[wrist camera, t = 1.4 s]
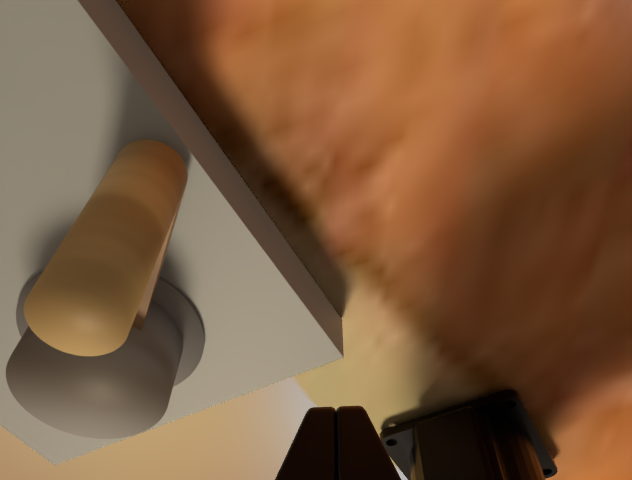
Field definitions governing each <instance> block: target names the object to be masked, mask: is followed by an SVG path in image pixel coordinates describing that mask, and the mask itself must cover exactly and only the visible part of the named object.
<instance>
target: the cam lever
mask: <svg viewBox="0 0 632 480" xmlns="http://www.w3.org/2000/svg"><path fill="white" fill-rule="evenodd" d="M187 180H188V173H187V168H186V165H185V163H184V161H183V159H182V158H181V157H180V155H179V154H178V153H177V152H176V151H175V150H174V149H172V148H171V147H169V146H168V145H166V144H164V143H162V142H159V141H155V140H149V139H142V140H136V141H133V142H131V143H129V144H127V145H126V146H124V147H123V148H122V149H121V151H120V152H119V153H118V155H117V157H116V158H115V160H114V161H113V163H112V164H111V166H110V167H109V169H108V171H107V172H106V174H105V175H104V177H103V178H102V180H101V182H100V183H99V185H98V186H97V188H96V189H95V191H94V193H93V194H92V196H91V197H90V199H89V200H88V202H87V204H86V205H85V207H84V208H83V210H82V211H81V213H80V215H79V216H78V218H77V219H76V221H75V222H74V224H73V226H72V227H71V229H70V230H69V232H68V233H67V235H66V237H65V238H64V240H63V241H62V243H61V244H60V246H59V247H58V249H57V251H56V252H55V254H54V255H53V257H52V258H51V260H50V262H49V263H48V265H47V266H46V268H45V269H44V271H43V273H42V274H41V276H40V277H39V279H38V280H37V282H36V284H35V285H34V287H33V288H32V290H31V291H30V293H29V295H28V296H27V298H26V300H25V303H24V316H25V319H26V321H27V323H28V325H29V326H28V327H27V329H26V331H25V332H24V334H23V336H22V337H21V339H20V341H19V342H18V344H17V346H16V348H15V349H14V351H13V353H12V354H11V356H10V358H9V360H8V362H7V366H6V380H7V384H8V387H9V389H10V391H11V393H12V395H13V396H14V398H15V399H16V400H17V402H18V403H19V404H20V405H21V406H22V407H23V408H24V409H25V410H26V411H27V412H29V413H30V414H31V415H32V416H34V417H35V418H37V419H38V420H40V421H42V422H43V423H45V424H47V425H49V426H51V427H53V428H56V429H58V430H61V431H64V432H66V433H70V434H73V435H77V436H82V437H88V438H96V439H116V438H124V437H129V436H133V435H136V434H139V433H142V432H144V431H146V430H148V429H150V428H151V427H153V426H154V425H155V424H157V423H158V422H159V421H160V420H161V418H162V417H163V416H164V414H165V412H166V410H167V408H168V404H169V400H170V396H171V393H172V389H173V385H174V382H175V378H176V374H177V370H178V367H179V363H180V359H181V355H182V350H183V343H182V337H181V334H180V331H179V329H178V327H177V325H176V324H175V322H174V321H173V319H172V318H171V317H170V316H169V314H168V313H167V312H166V311H165V310H164V309H162V308H161V307H160V306H159V305H158V304H156V303H155V302H153V301H152V300H153V297H154V293H155V290H156V286H157V283H158V280H159V276H160V273H161V269H162V266H163V263H164V259H165V256H166V252H167V249H168V246H169V242H170V239H171V235H172V232H173V229H174V225H175V222H176V218H177V215H178V212H179V208H180V205H181V201H182V198H183V195H184V191H185V188H186V184H187Z"/></svg>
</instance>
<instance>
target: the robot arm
mask: <svg viewBox="0 0 632 480" xmlns="http://www.w3.org/2000/svg"><path fill="white" fill-rule="evenodd" d="M389 456H390V457H391V458H392V460H393V461H394V462H395V463H396V465H397V466H398V467H399V469H400V470H401V471H402V472H403V474H404V475H405V476H406V477H407V479H408V480H545V478H549V477H552V476H554V475H555V474H556V473H557V467H556V465H555V462H554V460H553V458H552V456H551V454H550V452H549V450H548V448H547V447H546V445H545V443H544V441H543V439H542V437H541V435H540V433H539V431H538V429H537V427H536V426H535V424H534V422H533V420H532V418H531V416H530V414H529V412H528V410H527V408H526V406H525V404H524V403H523V401H522V399H521V397H520V395H519V393H518V392H517V391H514V390H504V391H501V392H498V393H495V394H492V395H489V396H486V397H483V398H480V399H476V400H473V401H470V402H467V403H464V404H461V405H458V406H455V407H452V408H449V409H446V410H443V411H440V412H437V413H434V414H431V415H427V416H424V417H421V418H418V419H415V420H412V421H409V422H406V423H403V424H400V425H397V426H394V427H391V428H388V429H385V430H383V431H382V432H381V433H380V438H379V436H378V434H377V432H376V430H375V428H374V426H373V424H372V422H371V420H370V418H369V416H368V414H367V412H366V411H365V409H364V408H363V407H361V406H341V407H339V408H337V410H335V409H334V408H333V407H314V408H310V409H309V410H308V411H307V413H306V414H305V417H304V419H303V421H302V423H301V425H300V427H299V429H298V432H297V434H296V436H295V438H294V440H293V443H292V444H291V447H290V449H289V451H288V453H287V455H286V457H285V460H284V462H283V464H282V466H281V468H280V470H279V472H278V474H277V477H276V479H275V480H401V478H400V477H399V474H398V472H397V471H396V469H395V467H394V465H393V463H392V461H391V459H390V457H389Z"/></svg>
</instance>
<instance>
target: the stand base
mask: <svg viewBox="0 0 632 480" xmlns="http://www.w3.org/2000/svg"><path fill="white" fill-rule="evenodd" d="M142 139H149V140H155V141H159V142H162V143H164V144H166V145H168V146H169V147H171V148H172V149H174V150H175V151H176V152H177V153H178V154H179V155H180V157H181V158H182V159H183V161H184V163H185V165H186V168H187V173H188V180H187V184H186V188H185V191H184V195H183V198H182V201H181V205H180V208H179V212H178V215H177V218H176V222H175V225H174V229H173V232H172V235H171V239H170V242H169V246H168V249H167V252H166V256H165V259H164V263H163V266H162V269H161V273H160V276H159V280H158V283H157V286H156V290H155V293H154V297H153V300H152V301H153V302H155V303H156V304H158V305H159V306H160V307H161V308H162V309H164V310H165V311H166V312H167V313H168V314H169V316H170V317H171V318H172V319H173V321H174V322H175V324H176V325H177V327H178V329H179V331H180V334H181V337H182V343H183V350H182V355H181V359H180V363H179V367H178V370H177V374H176V378H175V382H174V385H173V389H172V393H171V396H170V400H169V404H168V408H167V410H166V412H165V414H164V416H163V417H162V418H161V420H160V421H159V422H158V423H157V424H155V425H154V426H153V427H151V428H150V429H148V430H151V429H153V428H156V427H159V426H161V425H164V424H167V423H169V422H172V421H175V420H177V419H180V418H183V417H186V416H188V415H191V414H194V413H196V412H199V411H202V410H204V409H207V408H209V407H212V406H215V405H217V404H220V403H223V402H225V401H228V400H231V399H234V398H236V397H239V396H242V395H244V394H247V393H250V392H252V391H255V390H258V389H260V388H263V387H266V386H268V385H271V384H274V383H276V382H279V381H282V380H284V379H287V378H290V377H293V376H295V375H298V374H301V373H303V372H306V371H309V370H311V369H314V368H317V367H319V366H322V365H325V364H327V363H330V362H333V361H335V360H338V359H341V358H343V333H342V319H341V317H340V316H339V315H338V313H337V312H336V310H335V309H334V308H333V306H332V305H331V303H330V302H329V300H328V299H327V298H326V296H325V295H324V293H323V292H322V291H321V289H320V288H319V286H318V285H317V284H316V282H315V281H314V279H313V278H312V276H311V275H310V274H309V272H308V271H307V269H306V268H305V267H304V265H303V264H302V262H301V261H300V260H299V258H298V257H297V255H296V254H295V253H294V251H293V250H292V248H291V247H290V245H289V244H288V243H287V241H286V240H285V238H284V237H283V236H282V234H281V233H280V231H279V230H278V229H277V227H276V226H275V224H274V223H273V221H272V220H271V219H270V217H269V216H268V214H267V213H266V212H265V210H264V209H263V207H262V206H261V205H260V203H259V202H258V200H257V199H256V197H255V196H254V195H253V193H252V192H251V190H250V189H249V188H248V186H247V185H246V183H245V182H244V181H243V179H242V178H241V176H240V175H239V173H238V172H237V171H236V169H235V168H234V166H233V165H232V164H231V162H230V161H229V159H228V158H227V157H226V155H225V154H224V152H223V151H222V150H221V148H220V147H219V145H218V144H217V142H216V141H215V140H214V138H213V137H212V135H211V134H210V133H209V131H208V130H207V128H206V127H205V126H204V124H203V123H202V121H201V120H200V118H199V117H198V116H197V114H196V113H195V111H194V110H193V109H192V107H191V106H190V104H189V103H188V102H187V100H186V99H185V97H184V96H183V94H182V93H181V92H180V90H179V89H178V87H177V86H176V85H175V83H174V82H173V80H172V79H171V78H170V76H169V75H168V73H167V72H166V70H165V69H164V68H163V66H162V65H161V63H160V62H159V61H158V59H157V58H156V56H155V55H154V54H153V52H152V51H151V49H150V48H149V46H148V45H147V44H146V42H145V41H144V39H143V38H142V37H141V35H140V34H139V32H138V31H137V30H136V28H135V27H134V25H133V24H132V23H131V21H130V20H129V18H128V17H127V15H126V14H125V13H124V11H123V10H122V8H121V7H120V6H119V4H118V3H117V1H116V0H0V425H1V426H2V427H3V428H5V429H6V430H7V431H9V432H10V433H11V434H13V435H14V436H16V437H17V438H18V439H20V440H21V441H22V442H24V443H25V444H27V445H28V446H29V447H30V448H32V449H33V450H35V451H36V452H38V453H39V454H40V455H41V456H43V457H44V458H45V459H47V460H48V461H49V462H51V463H52V464H54V465H57V464H60V463H62V462H65V461H68V460H70V459H73V458H76V457H78V456H81V455H84V454H86V453H89V452H92V451H95V450H97V449H100V448H102V447H105V446H107V445H110V444H113V443H116V442H118V441H121V440H124V439H126V438H129V437H132V436H129V437H124V438H116V439H96V438H88V437H82V436H77V435H73V434H70V433H66V432H64V431H61V430H58V429H56V428H53V427H51V426H49V425H47V424H45V423H43V422H42V421H40V420H38V419H37V418H35V417H34V416H32V415H31V414H30V413H29V412H27V411H26V410H25V409H24V408H23V407H22V406H21V405H20V404H19V403H18V402H17V400H16V399H15V398H14V396H13V395H12V393H11V391H10V389H9V387H8V384H7V380H6V366H7V362H8V360H9V358H10V356H11V354H12V353H13V351H14V349H15V348H16V346H17V344H18V342H19V341H20V339H21V337H22V336H23V334H24V332H25V331H26V329H27V327H28V326H29V325H28V323H27V321H26V319H25V316H24V303H25V300H26V298H27V296H28V295H29V293H30V291H31V290H32V288H33V287H34V285H35V284H36V282H37V280H38V279H39V277H40V276H41V274H42V273H43V271H44V269H45V268H46V266H47V265H48V263H49V262H50V260H51V258H52V257H53V255H54V254H55V252H56V251H57V249H58V247H59V246H60V244H61V243H62V241H63V240H64V238H65V237H66V235H67V233H68V232H69V230H70V229H71V227H72V226H73V224H74V222H75V221H76V219H77V218H78V216H79V215H80V213H81V211H82V210H83V208H84V207H85V205H86V204H87V202H88V200H89V199H90V197H91V196H92V194H93V193H94V191H95V189H96V188H97V186H98V185H99V183H100V182H101V180H102V178H103V177H104V175H105V174H106V172H107V171H108V169H109V167H110V166H111V164H112V163H113V161H114V160H115V158H116V157H117V155H118V153H119V152H120V151H121V149H122V148H123V147H124V146H126V145H127V144H129V143H131V142H133V141H136V140H142ZM148 430H146V431H148ZM144 432H145V431H144ZM142 433H143V432H142ZM139 434H140V433H139ZM136 435H137V434H136ZM133 436H135V435H133Z"/></svg>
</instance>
